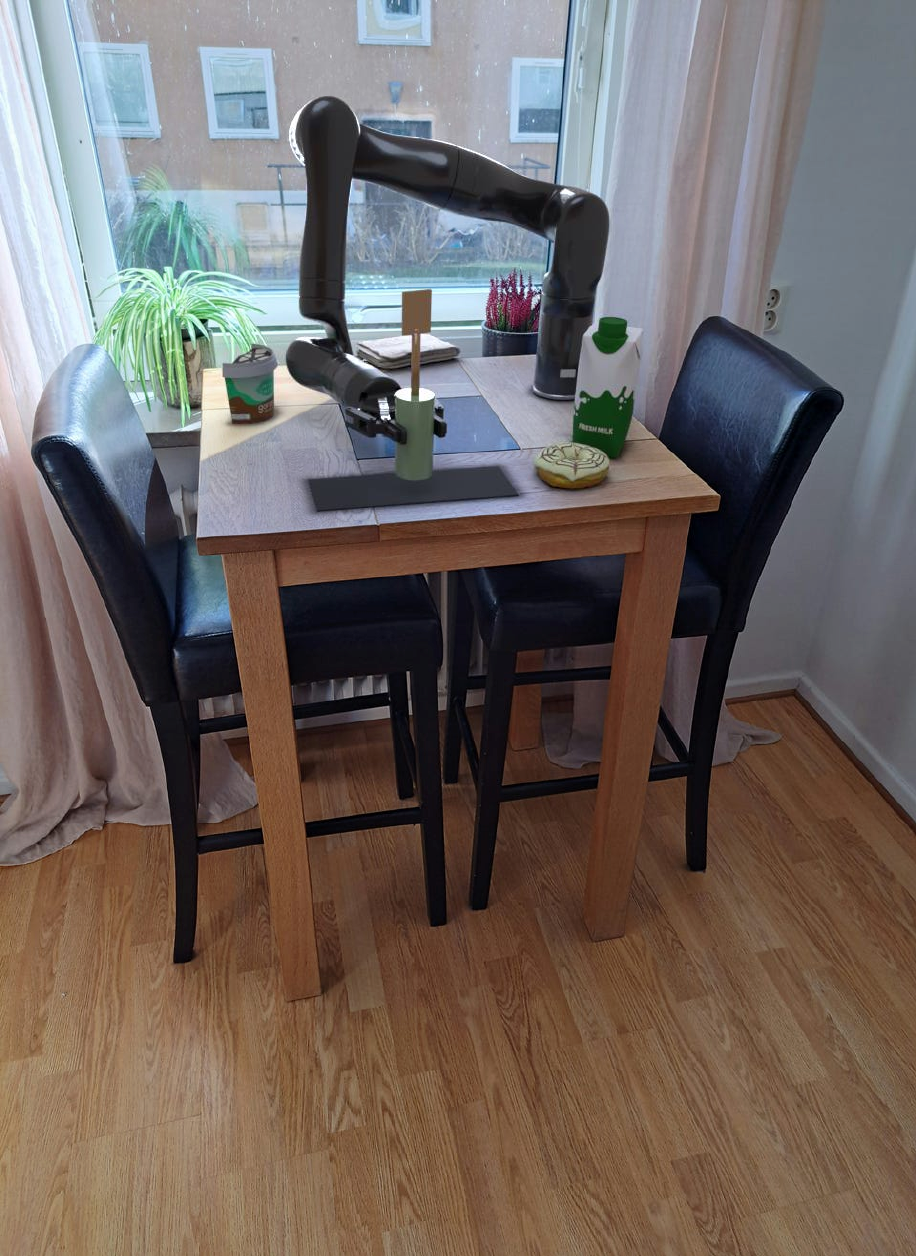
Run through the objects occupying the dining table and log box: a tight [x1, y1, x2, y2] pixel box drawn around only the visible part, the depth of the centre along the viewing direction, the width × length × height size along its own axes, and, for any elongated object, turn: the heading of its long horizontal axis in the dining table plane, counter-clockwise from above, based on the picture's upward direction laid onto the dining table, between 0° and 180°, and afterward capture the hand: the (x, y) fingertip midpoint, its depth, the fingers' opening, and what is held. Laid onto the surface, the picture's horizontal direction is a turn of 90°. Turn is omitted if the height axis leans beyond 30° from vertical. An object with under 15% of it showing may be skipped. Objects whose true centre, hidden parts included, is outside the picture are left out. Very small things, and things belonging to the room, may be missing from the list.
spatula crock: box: [394, 288, 436, 480], centre depth 115 cm, size 5×5×24 cm
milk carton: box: [572, 316, 644, 460], centre depth 134 cm, size 9×9×20 cm
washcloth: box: [355, 333, 461, 370], centre depth 174 cm, size 12×18×3 cm, turn 123°
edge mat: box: [307, 465, 520, 512], centre depth 124 cm, size 28×10×1 cm, turn 104°
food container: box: [221, 342, 279, 425], centre depth 143 cm, size 12×6×10 cm, turn 168°
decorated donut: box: [533, 441, 611, 489], centre depth 128 cm, size 10×11×4 cm
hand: (424, 434), depth 116 cm, fingers closed on spatula crock, 5 cm apart
